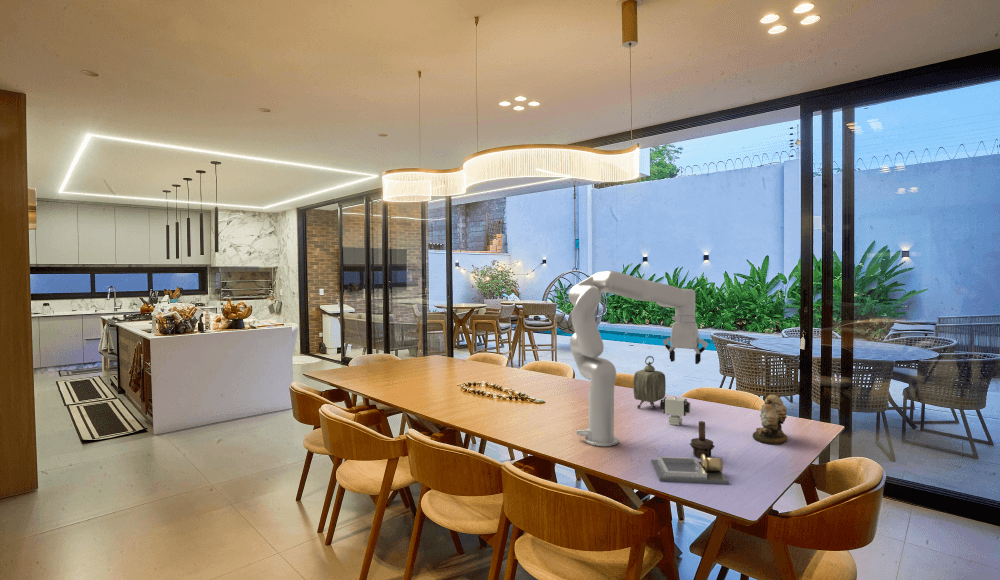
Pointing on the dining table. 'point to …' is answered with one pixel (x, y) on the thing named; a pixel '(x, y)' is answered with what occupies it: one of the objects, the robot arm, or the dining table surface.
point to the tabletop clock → (649, 384)
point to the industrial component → (702, 443)
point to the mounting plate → (690, 470)
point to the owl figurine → (772, 422)
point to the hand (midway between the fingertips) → (684, 362)
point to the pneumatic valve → (675, 408)
